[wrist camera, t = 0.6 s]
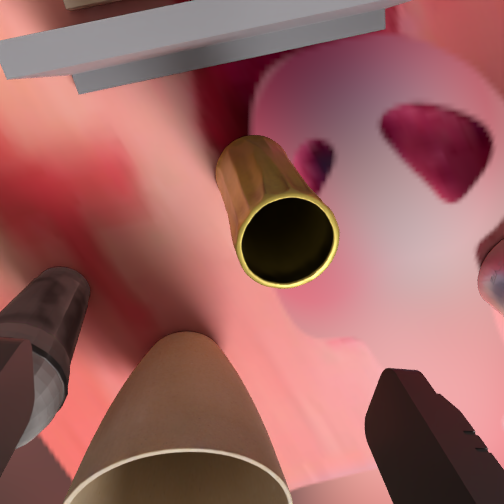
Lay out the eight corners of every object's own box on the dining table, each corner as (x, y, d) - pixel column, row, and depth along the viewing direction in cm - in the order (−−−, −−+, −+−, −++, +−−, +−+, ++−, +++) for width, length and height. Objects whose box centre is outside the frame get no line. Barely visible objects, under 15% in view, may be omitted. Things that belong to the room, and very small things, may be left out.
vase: (208, 200, 33) (214, 286, 20) (224, 125, 30) (244, 169, 17) (277, 215, 34) (325, 305, 21) (299, 144, 32) (367, 198, 19)
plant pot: (93, 400, 40) (34, 585, 26) (132, 279, 35) (86, 428, 21) (229, 426, 44) (244, 600, 30) (283, 321, 39) (332, 470, 24)
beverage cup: (9, 253, 32) (-226, 484, 15) (100, 250, 33) (-15, 465, 15) (28, 325, 36) (-147, 590, 18) (111, 321, 36) (26, 570, 18)
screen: (377, -36, 27) (479, -95, 17) (379, 30, 29) (474, 11, 19) (60, 30, 26) (-23, 9, 16) (82, 93, 28) (19, 108, 18)
